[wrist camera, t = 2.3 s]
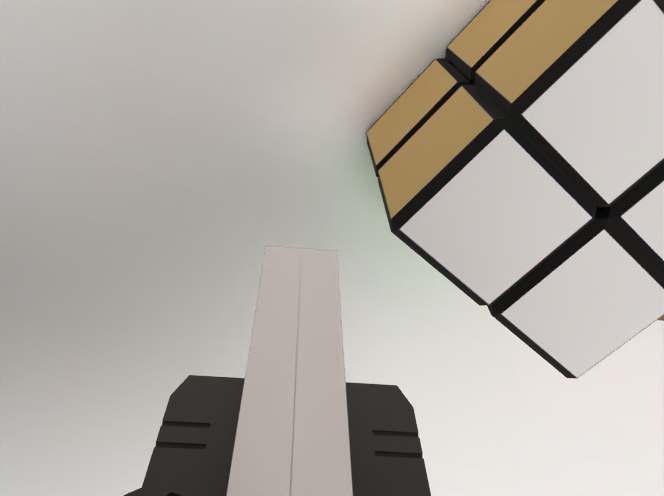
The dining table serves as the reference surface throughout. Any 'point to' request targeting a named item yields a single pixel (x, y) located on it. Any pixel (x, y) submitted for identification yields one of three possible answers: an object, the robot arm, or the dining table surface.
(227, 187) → the dining table surface
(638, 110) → the puzzle cube
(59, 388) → the dining table surface
